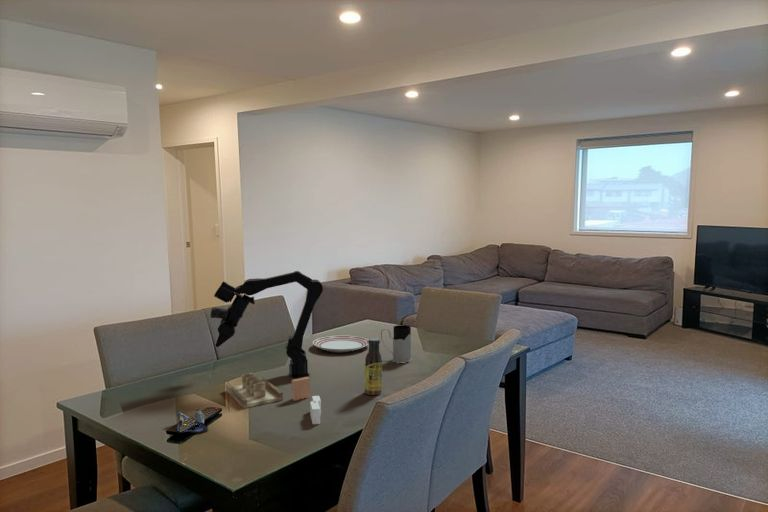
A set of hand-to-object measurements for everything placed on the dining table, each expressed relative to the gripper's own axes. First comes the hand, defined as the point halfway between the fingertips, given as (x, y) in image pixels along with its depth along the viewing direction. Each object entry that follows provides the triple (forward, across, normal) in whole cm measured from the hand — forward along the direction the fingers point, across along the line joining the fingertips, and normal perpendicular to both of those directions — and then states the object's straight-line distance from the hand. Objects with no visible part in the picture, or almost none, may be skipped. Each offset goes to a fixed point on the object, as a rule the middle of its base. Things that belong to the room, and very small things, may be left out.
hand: (217, 343), depth 205 cm
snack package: (+14, +45, +4) cm, 47 cm away
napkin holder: (-5, +44, +38) cm, 58 cm away
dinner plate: (-14, -36, +54) cm, 66 cm away
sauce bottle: (-16, +28, +56) cm, 64 cm away
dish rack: (+5, +20, +19) cm, 29 cm away
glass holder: (-25, -10, +71) cm, 76 cm away
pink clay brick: (-3, +27, +33) cm, 43 cm away
